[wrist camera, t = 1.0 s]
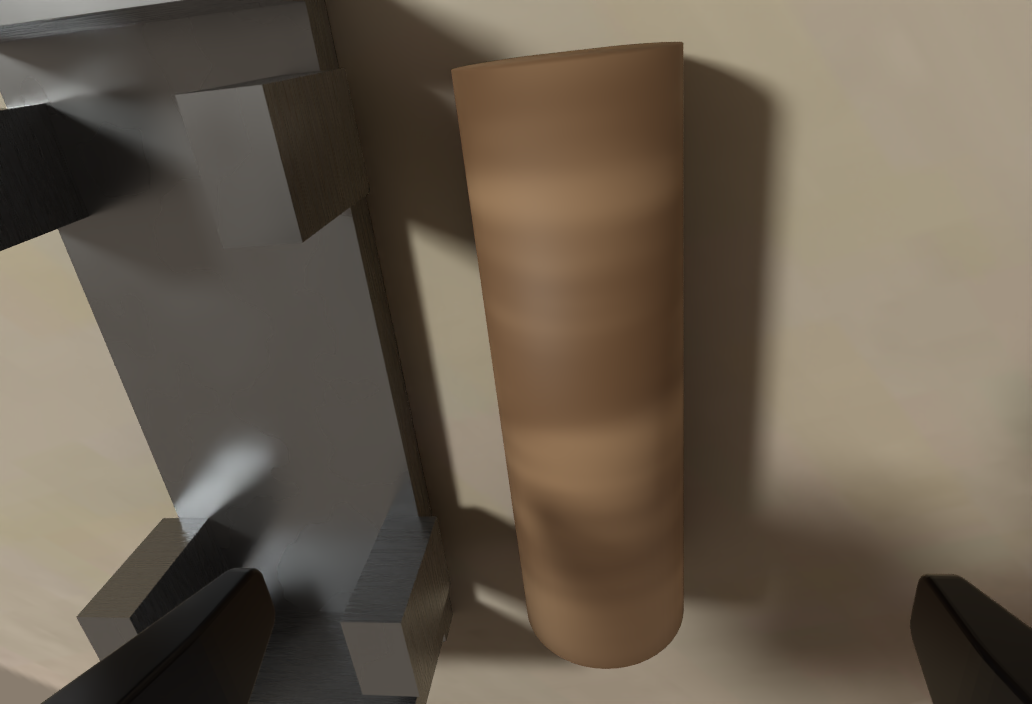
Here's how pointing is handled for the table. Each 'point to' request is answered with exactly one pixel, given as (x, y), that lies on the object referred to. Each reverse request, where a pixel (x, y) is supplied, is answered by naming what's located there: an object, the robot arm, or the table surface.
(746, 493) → the table surface
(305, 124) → the cradle
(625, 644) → the cylinder
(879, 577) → the table surface
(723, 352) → the table surface
